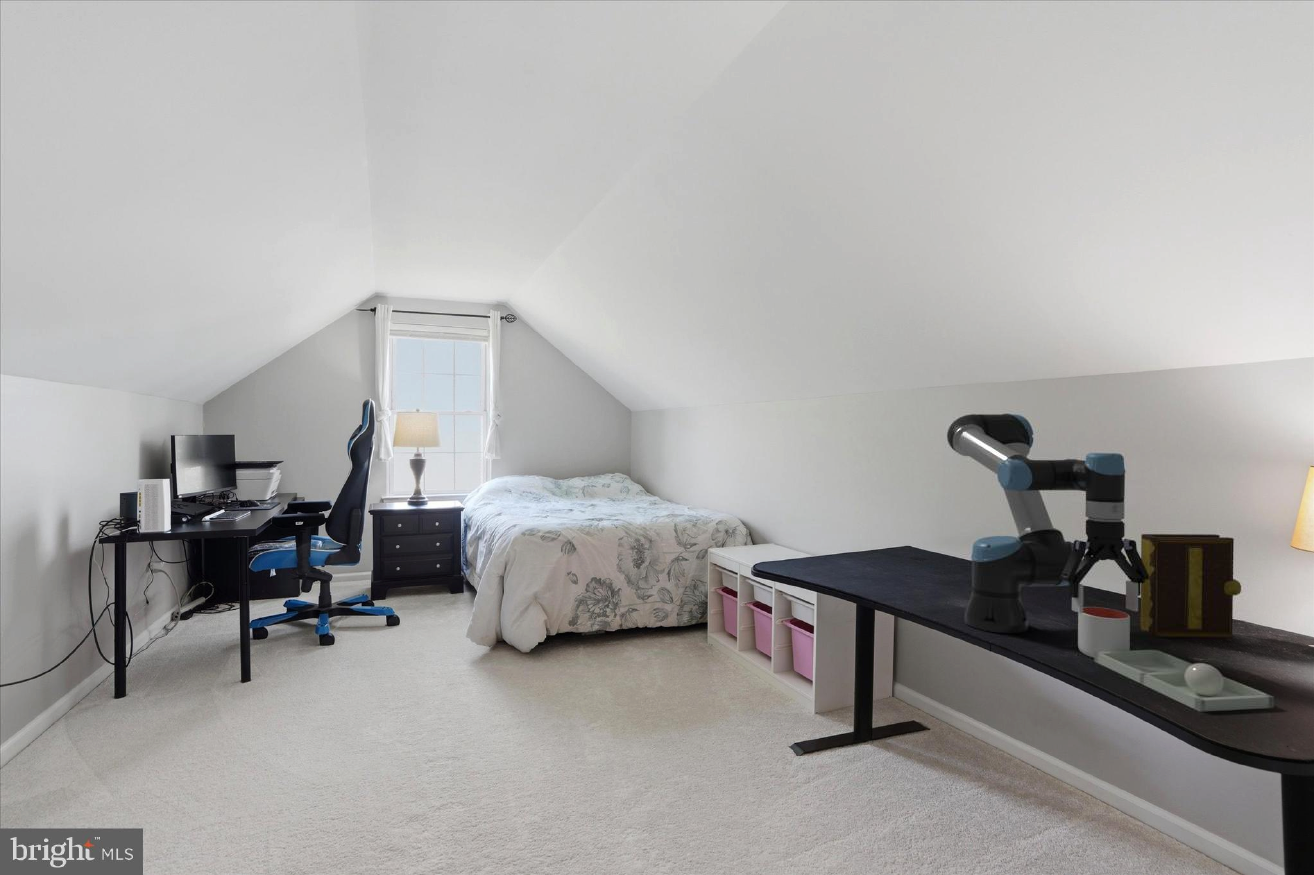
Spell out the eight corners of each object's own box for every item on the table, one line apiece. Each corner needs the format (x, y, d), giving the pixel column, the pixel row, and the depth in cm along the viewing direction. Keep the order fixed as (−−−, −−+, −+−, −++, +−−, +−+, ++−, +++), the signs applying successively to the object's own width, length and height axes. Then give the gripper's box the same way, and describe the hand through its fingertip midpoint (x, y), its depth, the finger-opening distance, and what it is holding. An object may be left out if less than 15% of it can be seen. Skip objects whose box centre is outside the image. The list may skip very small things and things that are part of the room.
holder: (1094, 666, 149) (1094, 652, 149) (1156, 663, 150) (1156, 649, 150) (1199, 717, 123) (1199, 700, 123) (1273, 713, 124) (1273, 696, 124)
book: (1156, 637, 168) (1157, 538, 167) (1134, 627, 177) (1135, 533, 176) (1248, 639, 167) (1249, 539, 166) (1221, 628, 175) (1222, 533, 175)
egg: (1176, 689, 133) (1176, 659, 133) (1203, 687, 134) (1204, 657, 133) (1203, 701, 127) (1204, 670, 127) (1232, 700, 128) (1232, 669, 127)
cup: (1109, 647, 161) (1109, 606, 161) (1140, 662, 151) (1140, 618, 151) (1068, 648, 161) (1068, 607, 161) (1097, 663, 151) (1097, 619, 151)
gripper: (1065, 522, 150) (1065, 616, 150) (1168, 520, 153) (1168, 613, 153) (1043, 518, 158) (1043, 608, 158) (1141, 516, 160) (1141, 604, 160)
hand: (1104, 610), depth 155 cm, fingers open, 13 cm apart
